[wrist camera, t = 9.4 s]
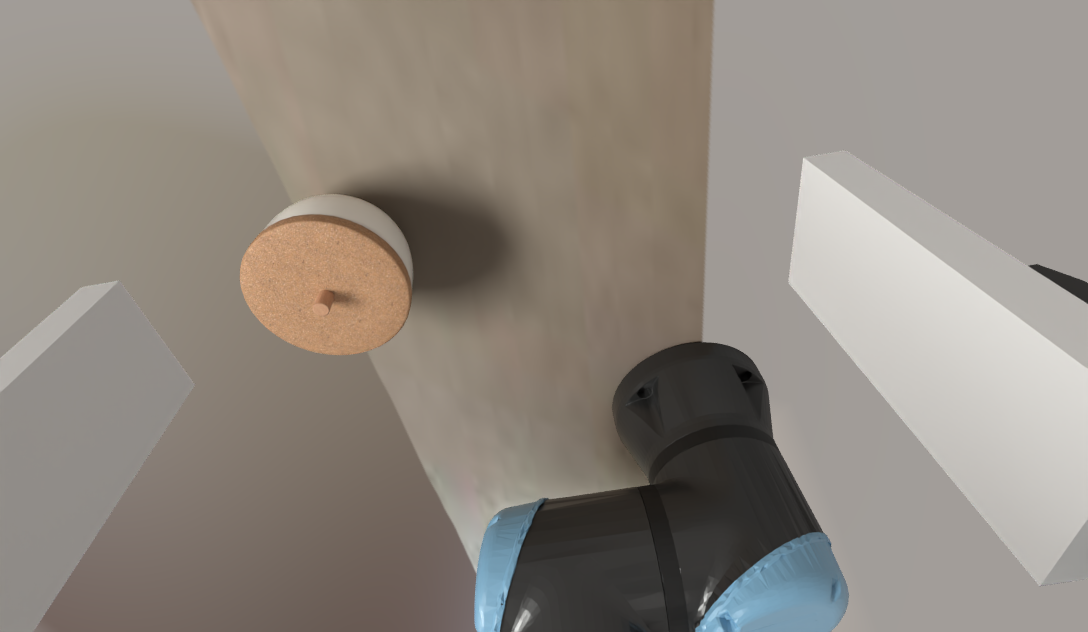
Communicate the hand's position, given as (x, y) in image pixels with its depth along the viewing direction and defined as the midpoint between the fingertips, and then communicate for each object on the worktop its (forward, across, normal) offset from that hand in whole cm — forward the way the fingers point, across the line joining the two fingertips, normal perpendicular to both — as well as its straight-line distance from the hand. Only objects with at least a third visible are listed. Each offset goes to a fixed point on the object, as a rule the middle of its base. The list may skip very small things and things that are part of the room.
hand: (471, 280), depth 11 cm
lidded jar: (+30, +13, +12) cm, 35 cm away
